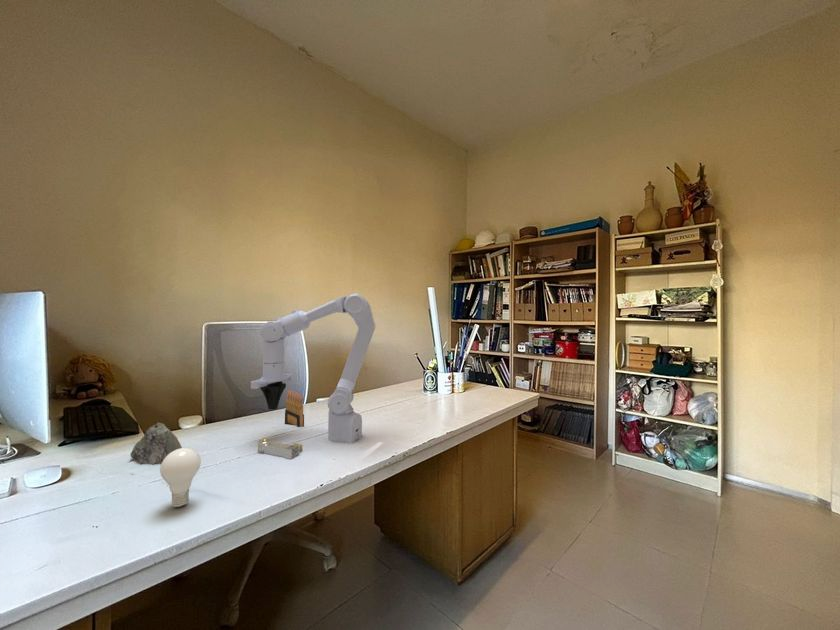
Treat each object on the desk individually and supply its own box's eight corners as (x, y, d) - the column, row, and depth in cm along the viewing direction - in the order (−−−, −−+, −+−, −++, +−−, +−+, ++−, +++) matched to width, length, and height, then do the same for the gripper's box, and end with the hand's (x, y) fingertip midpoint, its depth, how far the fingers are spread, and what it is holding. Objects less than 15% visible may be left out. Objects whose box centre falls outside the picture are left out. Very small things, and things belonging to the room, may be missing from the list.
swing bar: (255, 452, 86) (255, 440, 86) (264, 447, 89) (264, 436, 89) (290, 459, 82) (291, 446, 82) (299, 454, 85) (299, 442, 85)
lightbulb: (168, 520, 59) (169, 458, 59) (153, 508, 62) (154, 450, 63) (206, 503, 64) (207, 447, 65) (190, 494, 68) (191, 440, 68)
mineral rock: (131, 457, 85) (132, 418, 85) (182, 448, 92) (183, 412, 92) (125, 477, 75) (126, 432, 75) (183, 465, 81) (184, 424, 81)
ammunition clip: (304, 430, 108) (304, 393, 108) (298, 431, 106) (299, 394, 107) (289, 422, 115) (290, 388, 115) (284, 424, 114) (285, 389, 114)
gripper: (280, 359, 105) (280, 401, 105) (242, 364, 91) (241, 413, 91) (298, 360, 103) (298, 404, 102) (262, 366, 89) (261, 416, 89)
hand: (272, 408), depth 96 cm, fingers closed
